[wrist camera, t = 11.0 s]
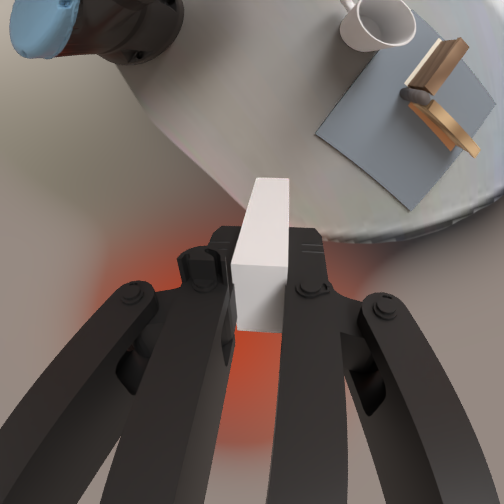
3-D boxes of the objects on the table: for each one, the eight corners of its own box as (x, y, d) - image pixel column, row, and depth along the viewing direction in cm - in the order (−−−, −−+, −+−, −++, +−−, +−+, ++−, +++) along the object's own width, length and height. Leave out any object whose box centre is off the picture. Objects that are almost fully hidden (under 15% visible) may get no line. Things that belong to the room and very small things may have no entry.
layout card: (315, 133, 38) (315, 133, 37) (410, 10, 23) (412, 9, 23) (410, 210, 42) (411, 211, 42) (494, 103, 28) (496, 103, 27)
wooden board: (410, 104, 32) (428, 109, 27) (416, 95, 31) (434, 99, 26) (455, 146, 34) (475, 158, 29) (460, 138, 33) (480, 149, 28)
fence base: (397, 94, 32) (414, 97, 26) (439, 39, 25) (460, 36, 19) (406, 103, 32) (425, 108, 27) (447, 48, 25) (469, 47, 20)
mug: (391, 44, 28) (427, 36, 18) (354, 60, 30) (380, 54, 21) (352, -10, 24) (374, -37, 14) (314, 5, 26) (324, -21, 16)
